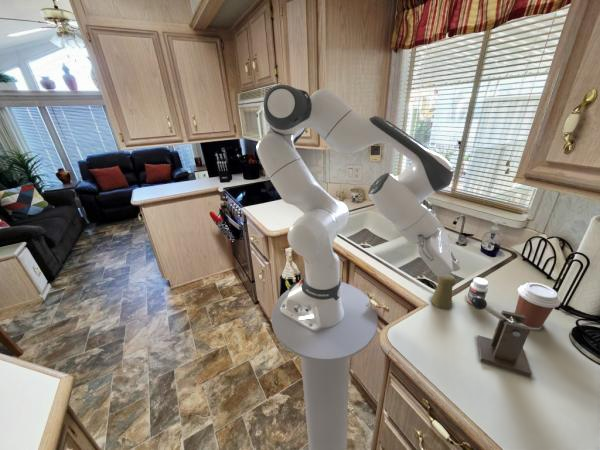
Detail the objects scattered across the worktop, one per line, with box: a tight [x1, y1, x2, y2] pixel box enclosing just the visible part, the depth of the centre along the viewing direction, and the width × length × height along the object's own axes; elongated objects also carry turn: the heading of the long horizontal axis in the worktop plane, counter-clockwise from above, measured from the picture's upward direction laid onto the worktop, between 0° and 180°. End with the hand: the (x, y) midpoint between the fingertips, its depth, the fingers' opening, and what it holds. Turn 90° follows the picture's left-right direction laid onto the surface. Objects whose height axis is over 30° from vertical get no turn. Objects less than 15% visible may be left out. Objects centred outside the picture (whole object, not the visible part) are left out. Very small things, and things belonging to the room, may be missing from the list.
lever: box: [470, 296, 523, 326], centre depth 62 cm, size 12×3×3 cm, turn 63°
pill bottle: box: [466, 276, 489, 305], centre depth 82 cm, size 5×5×8 cm
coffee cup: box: [514, 281, 562, 331], centre depth 73 cm, size 9×9×12 cm
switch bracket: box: [476, 310, 533, 377], centre depth 63 cm, size 10×8×13 cm
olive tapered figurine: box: [431, 273, 457, 310], centre depth 82 cm, size 6×6×11 cm
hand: (457, 267), depth 63 cm, fingers closed
